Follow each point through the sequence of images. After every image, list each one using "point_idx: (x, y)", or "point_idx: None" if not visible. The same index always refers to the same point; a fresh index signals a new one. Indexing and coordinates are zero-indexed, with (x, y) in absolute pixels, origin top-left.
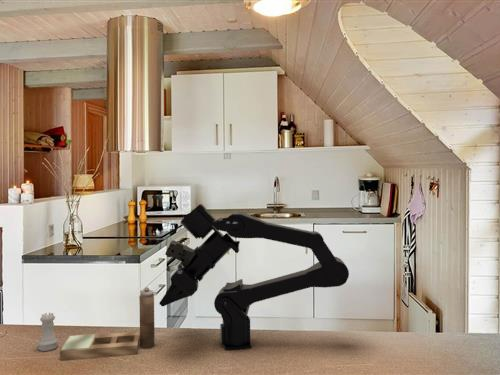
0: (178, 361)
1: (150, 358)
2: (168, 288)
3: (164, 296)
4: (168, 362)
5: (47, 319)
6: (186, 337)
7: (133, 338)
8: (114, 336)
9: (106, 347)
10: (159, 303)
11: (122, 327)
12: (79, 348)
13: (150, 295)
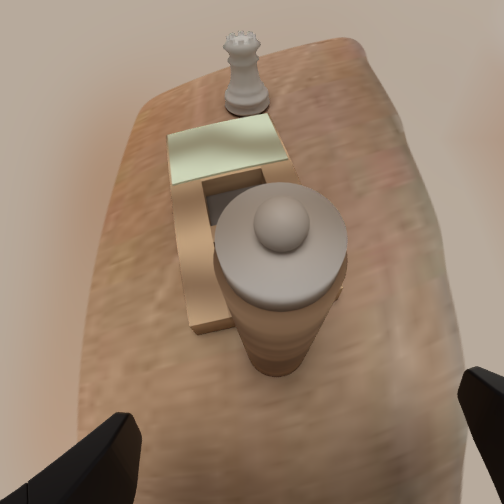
0: None
1: (159, 390)
2: (492, 388)
3: (62, 460)
4: None
5: (226, 47)
6: (373, 473)
7: None
8: None
9: (175, 228)
10: (118, 413)
11: (426, 206)
12: (170, 165)
13: (240, 294)
